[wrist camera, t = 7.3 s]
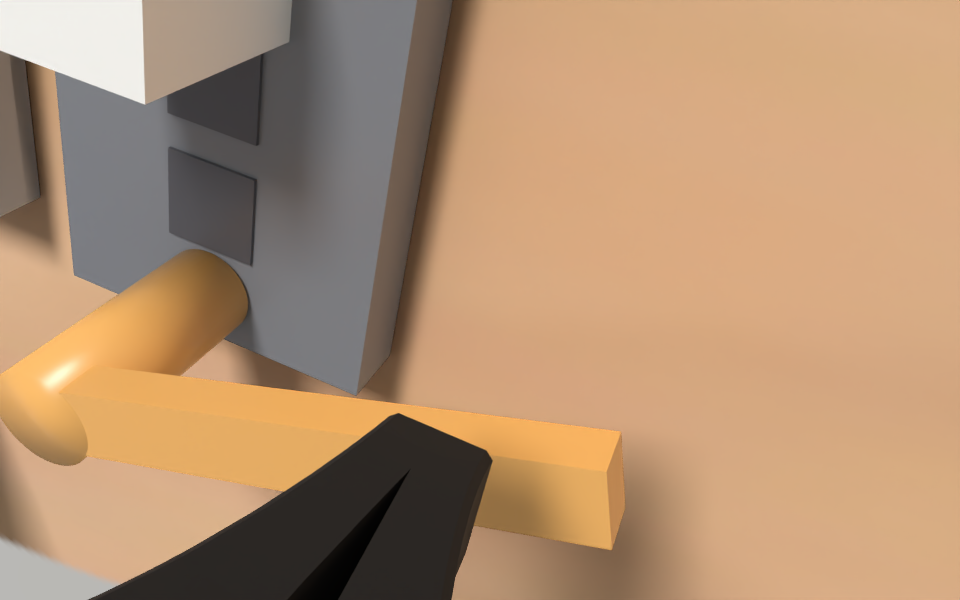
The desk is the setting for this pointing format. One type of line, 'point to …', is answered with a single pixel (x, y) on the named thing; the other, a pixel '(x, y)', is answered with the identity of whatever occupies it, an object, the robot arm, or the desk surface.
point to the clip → (272, 412)
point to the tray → (16, 137)
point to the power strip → (273, 179)
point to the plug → (142, 39)
